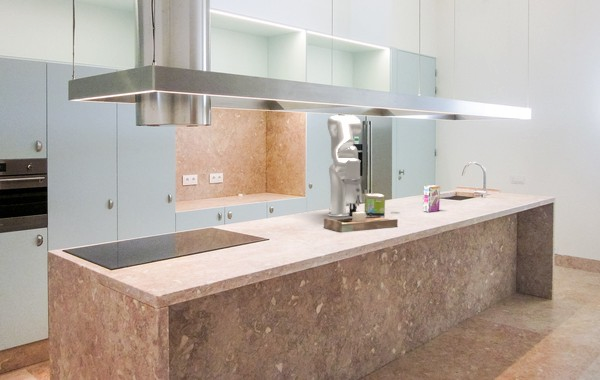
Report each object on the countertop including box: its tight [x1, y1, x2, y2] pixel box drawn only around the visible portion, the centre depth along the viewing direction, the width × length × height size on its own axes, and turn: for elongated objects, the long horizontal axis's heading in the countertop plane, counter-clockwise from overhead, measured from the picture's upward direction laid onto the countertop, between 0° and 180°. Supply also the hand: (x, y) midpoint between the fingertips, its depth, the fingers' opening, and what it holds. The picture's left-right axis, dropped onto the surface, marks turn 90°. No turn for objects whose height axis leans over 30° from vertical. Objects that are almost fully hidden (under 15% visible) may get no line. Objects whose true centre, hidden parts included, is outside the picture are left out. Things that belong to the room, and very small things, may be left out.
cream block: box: [351, 211, 366, 222], centre depth 270 cm, size 5×5×4 cm
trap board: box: [323, 216, 398, 233], centre depth 268 cm, size 16×35×5 cm, turn 117°
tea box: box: [364, 193, 386, 219], centre depth 292 cm, size 15×10×15 cm, turn 179°
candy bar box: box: [422, 185, 441, 213], centre depth 329 cm, size 11×5×16 cm, turn 130°
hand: (352, 216), depth 275 cm, fingers closed
